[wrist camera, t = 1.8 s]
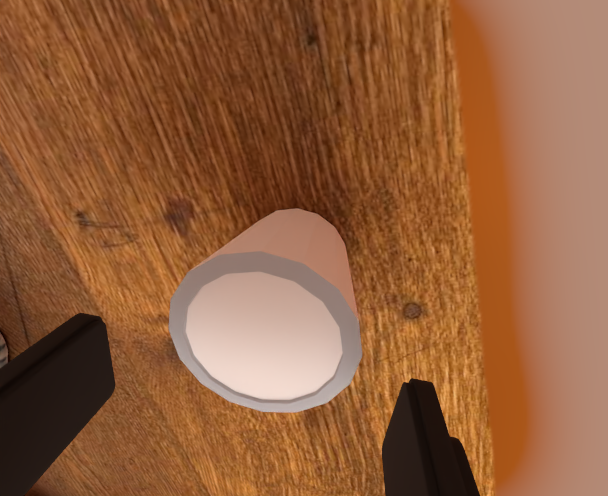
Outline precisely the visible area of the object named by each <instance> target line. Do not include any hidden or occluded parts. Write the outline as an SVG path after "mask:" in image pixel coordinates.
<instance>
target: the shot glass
mask: <svg viewBox="0 0 608 496" xmlns="http://www.w3.org/2000/svg"><path fill="white" fill-rule="evenodd" d="M169 332H170V334H171V337H172V339H173V342H174V345H175V347H176V350H177V353H178V355H179V358H180V359H181V361H182V362H183V363H184V364H185V365H186V366H187V368H188V369H189V370H190V371H191V372H192V373H193V374H194V376H195V377H196V378H197V379H198V380H199V381H200V383H201V384H203V385H204V386H206V387H208V388H209V389H211V390H212V391H214V392H215V393H217V394H219V395H220V396H222V397H223V398H225V399H226V400H228V401H230V402H232V403H236V404H239V405H242V406H245V407H249V408H252V409H255V410H259V411H262V412H299V411H302V410H306V409H309V408H312V407H315V406H319V405H322V404H325V403H327V402H329V401H330V400H331V399H332V398H333V397H335V396H336V395H337V394H338V393H339V392H341V391H342V390H343V389H344V388H345V387H347V386H348V385H349V384H350V383H351V381H352V378H353V376H354V374H355V371H356V369H357V367H358V364H359V362H360V360H361V357H362V348H361V338H360V328H359V320H358V314H357V308H356V303H355V297H354V291H353V286H352V280H351V274H350V269H349V263H348V257H347V252H346V246H345V243H344V242H343V240H342V238H341V236H340V235H339V233H338V231H337V230H336V228H335V227H334V226H333V225H332V224H330V223H329V222H328V221H326V220H325V219H324V218H322V217H321V216H320V215H319V214H316V213H312V212H309V211H305V210H302V209H298V208H295V209H286V210H277V211H275V212H273V213H271V214H270V215H268V216H266V217H264V218H263V219H261V220H259V221H258V222H256V223H255V224H254V225H252V226H251V227H250V228H248V229H247V230H245V231H244V232H243V233H241V234H240V235H238V236H237V237H236V238H234V239H233V240H232V241H230V242H229V243H227V244H226V245H225V246H223V247H222V248H221V249H219V250H218V251H216V252H215V253H214V254H212V255H211V256H210V257H208V258H207V259H205V260H204V261H203V262H201V263H200V264H198V265H197V266H196V267H194V268H193V269H192V270H190V271H189V272H188V273H187V274H186V276H185V277H184V279H183V281H182V282H181V284H180V285H179V287H178V288H177V290H176V291H175V293H174V294H173V296H172V298H171V302H170V316H169Z"/></svg>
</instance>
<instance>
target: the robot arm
mask: <svg viewBox="0 0 608 496" xmlns="http://www.w3.org/2000/svg"><path fill="white" fill-rule="evenodd" d="M114 389H115V380H114V373H113V367H112V361H111V354H110V348H109V342H108V336H107V329H106V325H105V323H104V322H103V321H102V318H101V317H99V316H94V315H89V314H84V313H79V314H77V315H75V316H73V317H72V318H71V319H69V320H68V321H66V322H65V323H63V324H62V325H61V326H59V327H58V328H56V329H55V330H54V331H52V332H51V333H49V334H48V335H46V336H45V337H44V338H42V339H41V340H39V341H38V342H37V343H35V344H34V345H32V346H31V347H30V348H28V349H27V350H25V351H24V352H22V353H21V354H20V355H18V356H17V357H15V358H14V359H13V360H11V361H10V362H8V363H7V364H5V365H4V366H3V367H1V368H0V496H24V495H25V494H26V493H27V492H28V491H29V489H30V488H31V487H32V486H33V485H34V484H35V483H36V481H37V480H38V479H39V478H40V477H41V476H42V475H43V473H44V472H45V471H46V470H47V469H48V468H49V467H50V465H51V464H52V463H53V462H54V461H55V460H56V458H57V457H58V456H59V455H60V454H61V453H62V452H63V450H64V449H65V448H66V447H67V446H68V445H69V444H70V442H71V441H72V440H73V439H74V438H75V437H76V436H77V434H78V433H79V432H80V431H81V430H82V429H83V428H84V426H85V425H86V424H87V423H88V422H89V421H90V419H91V418H92V417H93V416H94V415H95V414H96V413H97V411H98V410H99V409H100V408H101V407H102V406H103V405H104V403H105V402H106V401H107V400H108V399H109V398H110V396H111V395H112V393H113V391H114ZM382 461H383V472H384V483H385V494H386V496H480V494H479V491H478V489H477V486H476V483H475V480H474V477H473V474H472V471H471V468H470V465H469V462H468V459H467V456H466V453H465V450H464V448H463V446H462V443H461V442H460V441H459V439H457V438H455V437H450V436H449V433H448V430H447V427H446V423H445V420H444V417H443V414H442V410H441V407H440V404H439V401H438V397H437V394H436V391H435V388H434V385H433V383H432V382H427V381H422V380H417V379H410V381H409V383H406V382H404V383H403V384H402V387H401V390H400V393H399V396H398V399H397V402H396V405H395V408H394V411H393V414H392V417H391V420H390V423H389V426H388V429H387V432H386V435H385V438H384V441H383V446H382Z"/></svg>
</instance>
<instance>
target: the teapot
mask: <svg viewBox="0 0 608 496" xmlns="http://www.w3.org/2000/svg"><path fill="white" fill-rule="evenodd" d="M7 356H8V349H7V346H6V343H5V340H4V338H3V336H2V335H1V333H0V368H1V367H3V366H4V365H5V364H7V363H8V358H7Z"/></svg>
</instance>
